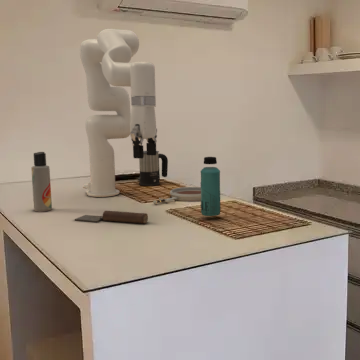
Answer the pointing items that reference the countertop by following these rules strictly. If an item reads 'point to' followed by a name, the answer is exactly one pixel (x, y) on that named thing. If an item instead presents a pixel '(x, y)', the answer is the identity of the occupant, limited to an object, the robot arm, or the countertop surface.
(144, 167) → the milk frother
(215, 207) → the beverage bottle
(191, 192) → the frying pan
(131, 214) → the spatula
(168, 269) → the countertop surface
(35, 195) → the lotion bottle
